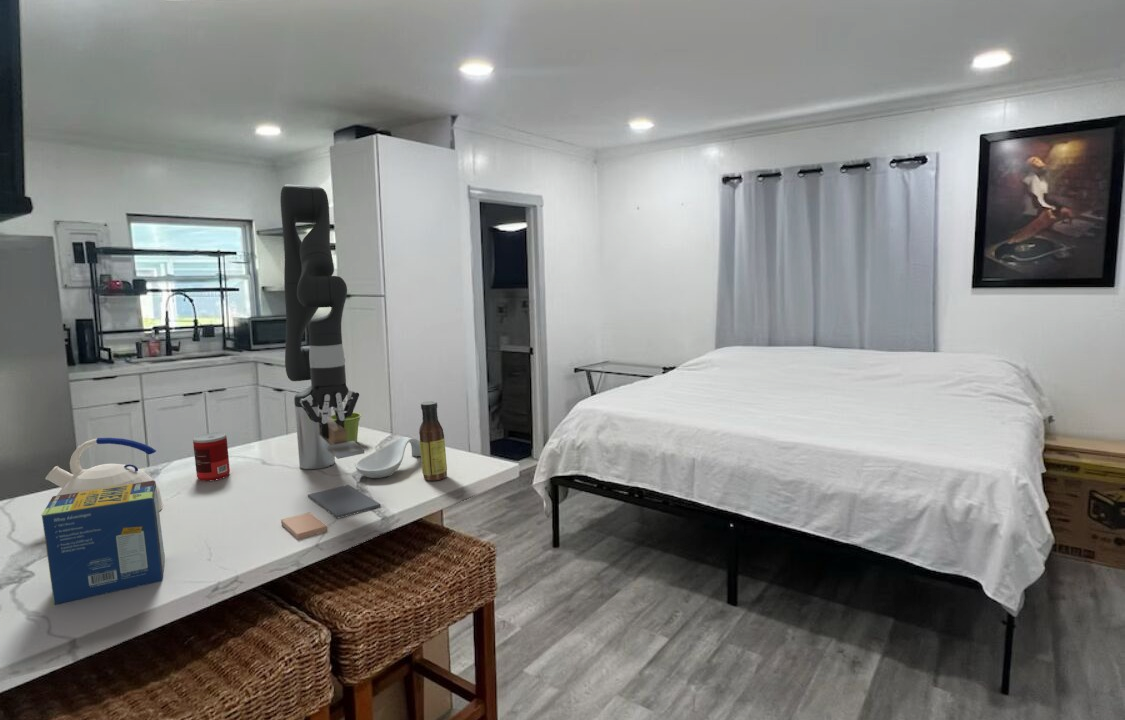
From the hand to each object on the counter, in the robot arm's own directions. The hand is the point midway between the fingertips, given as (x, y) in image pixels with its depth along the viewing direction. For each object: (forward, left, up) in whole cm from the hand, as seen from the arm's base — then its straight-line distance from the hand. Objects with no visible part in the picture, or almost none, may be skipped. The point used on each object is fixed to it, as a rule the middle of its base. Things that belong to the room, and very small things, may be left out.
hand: (332, 436), depth 146 cm
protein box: (+12, -45, -15) cm, 49 cm away
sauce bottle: (+3, +24, -15) cm, 29 cm away
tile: (+7, -12, -15) cm, 20 cm away
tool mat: (+3, 0, -15) cm, 15 cm away
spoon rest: (-12, +20, -15) cm, 28 cm away
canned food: (-39, -18, -15) cm, 45 cm away
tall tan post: (+3, 0, -1) cm, 3 cm away
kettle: (-25, -42, -15) cm, 51 cm away
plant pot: (-46, +21, -15) cm, 53 cm away
